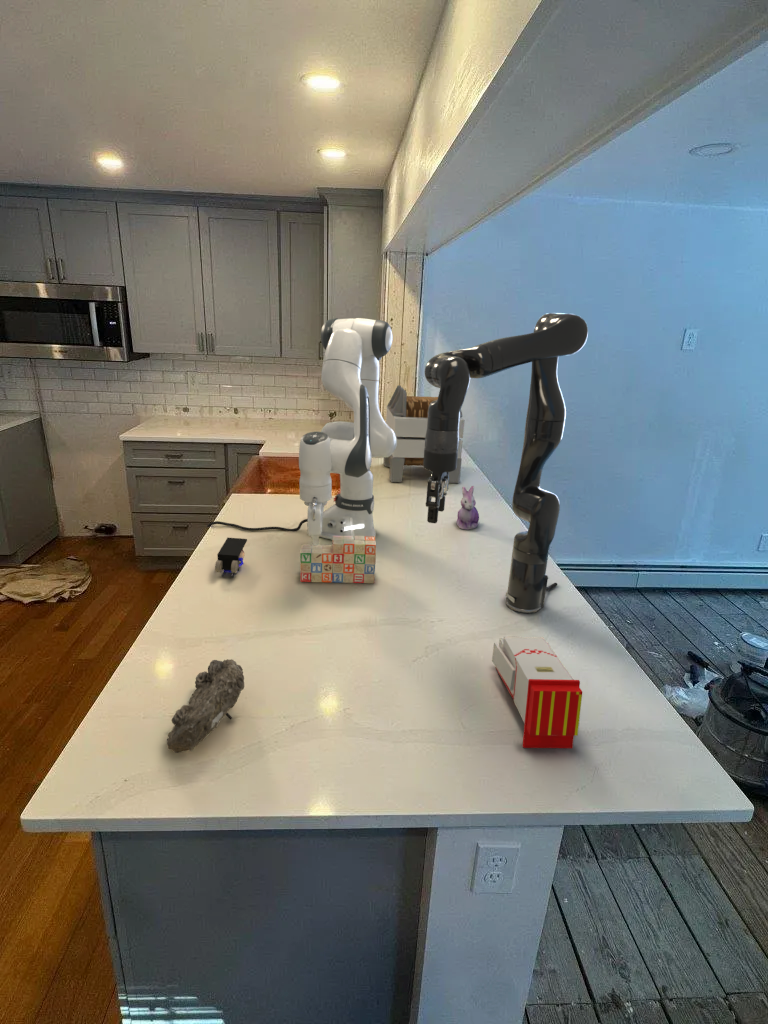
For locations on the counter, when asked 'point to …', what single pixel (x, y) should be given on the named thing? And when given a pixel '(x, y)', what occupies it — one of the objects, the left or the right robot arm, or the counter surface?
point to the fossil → (206, 705)
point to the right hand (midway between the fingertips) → (435, 516)
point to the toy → (539, 691)
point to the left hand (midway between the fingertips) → (316, 537)
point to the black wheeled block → (230, 556)
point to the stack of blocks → (339, 560)
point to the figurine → (468, 510)
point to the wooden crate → (412, 433)
